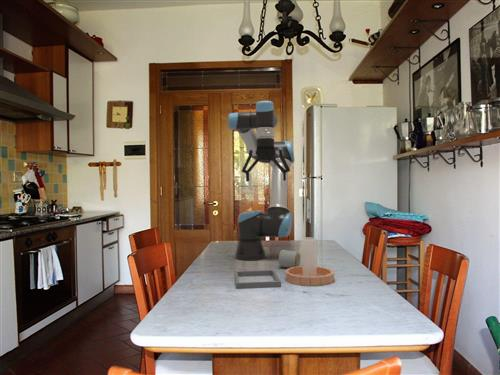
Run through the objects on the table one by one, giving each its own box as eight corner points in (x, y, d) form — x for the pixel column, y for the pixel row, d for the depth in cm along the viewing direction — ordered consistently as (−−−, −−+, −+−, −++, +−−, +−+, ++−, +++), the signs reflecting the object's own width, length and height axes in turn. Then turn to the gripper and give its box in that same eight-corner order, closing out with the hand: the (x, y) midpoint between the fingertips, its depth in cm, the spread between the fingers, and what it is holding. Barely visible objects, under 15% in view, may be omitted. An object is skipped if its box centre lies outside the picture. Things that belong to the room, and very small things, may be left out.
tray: (234, 275, 150) (234, 271, 150) (274, 274, 151) (274, 270, 151) (236, 288, 132) (236, 283, 132) (281, 286, 133) (281, 281, 133)
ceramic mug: (296, 270, 158) (296, 252, 158) (278, 268, 161) (278, 251, 161) (302, 265, 168) (302, 248, 168) (285, 264, 171) (285, 247, 171)
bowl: (282, 274, 152) (282, 266, 152) (326, 272, 153) (326, 265, 153) (290, 286, 133) (290, 278, 133) (340, 284, 135) (340, 276, 135)
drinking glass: (299, 275, 146) (298, 237, 146) (316, 274, 147) (315, 237, 147) (302, 280, 140) (302, 240, 139) (320, 279, 140) (319, 239, 140)
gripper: (235, 137, 152) (236, 189, 152) (296, 137, 154) (297, 188, 154) (235, 139, 159) (236, 189, 160) (292, 139, 161) (293, 188, 161)
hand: (266, 189), depth 157 cm, fingers open, 13 cm apart
